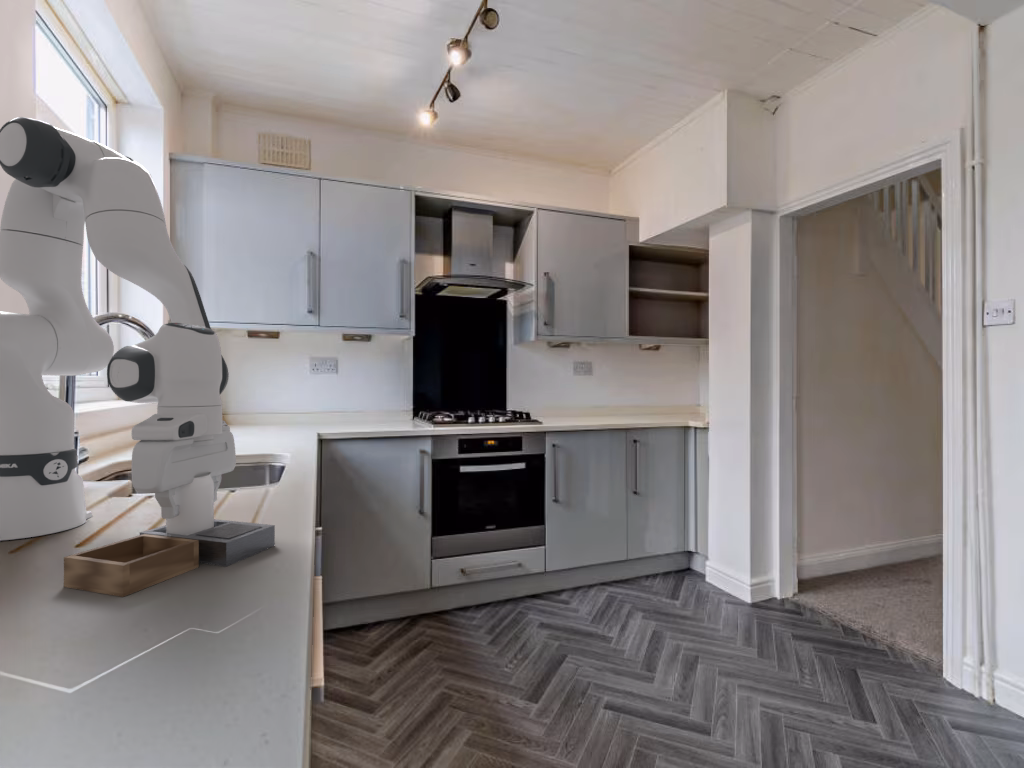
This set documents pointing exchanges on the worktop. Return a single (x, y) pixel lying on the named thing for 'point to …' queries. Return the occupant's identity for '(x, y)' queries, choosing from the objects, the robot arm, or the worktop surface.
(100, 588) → the box
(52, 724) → the worktop surface
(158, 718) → the worktop surface
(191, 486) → the can
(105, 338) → the robot arm
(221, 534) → the tray
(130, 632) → the worktop surface
